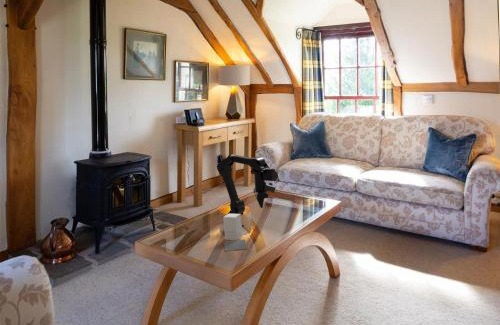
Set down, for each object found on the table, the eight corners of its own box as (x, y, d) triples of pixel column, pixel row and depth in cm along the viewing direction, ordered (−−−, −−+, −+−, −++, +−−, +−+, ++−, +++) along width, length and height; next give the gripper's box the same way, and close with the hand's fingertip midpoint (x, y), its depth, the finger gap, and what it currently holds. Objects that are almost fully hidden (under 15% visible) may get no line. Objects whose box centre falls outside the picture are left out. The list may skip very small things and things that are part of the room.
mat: (223, 242, 210) (223, 241, 210) (244, 240, 211) (244, 239, 211) (224, 251, 196) (224, 250, 196) (247, 249, 197) (247, 248, 197)
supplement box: (243, 236, 218) (241, 213, 216) (236, 240, 211) (235, 217, 210) (230, 235, 221) (229, 213, 219) (224, 239, 214) (222, 216, 213)
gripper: (276, 182, 214) (278, 210, 216) (271, 176, 232) (273, 202, 234) (256, 183, 213) (257, 212, 215) (252, 178, 231) (254, 204, 233)
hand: (261, 207), depth 224 cm, fingers closed
